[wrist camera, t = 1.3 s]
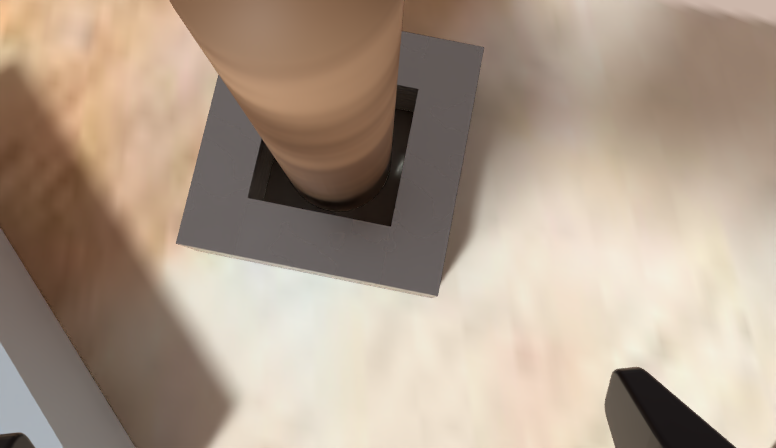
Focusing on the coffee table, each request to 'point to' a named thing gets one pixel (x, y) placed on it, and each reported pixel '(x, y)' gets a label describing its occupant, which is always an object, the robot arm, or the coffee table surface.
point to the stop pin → (311, 85)
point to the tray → (46, 372)
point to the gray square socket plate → (334, 233)
